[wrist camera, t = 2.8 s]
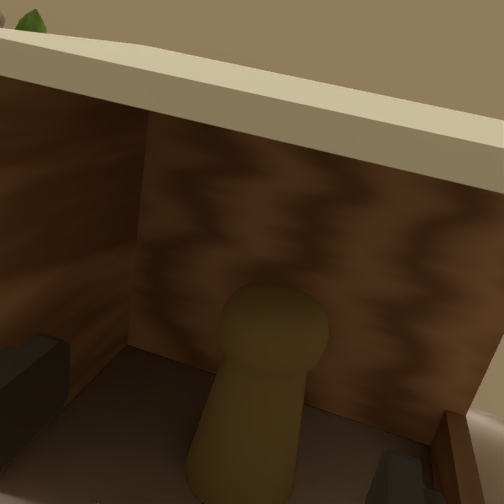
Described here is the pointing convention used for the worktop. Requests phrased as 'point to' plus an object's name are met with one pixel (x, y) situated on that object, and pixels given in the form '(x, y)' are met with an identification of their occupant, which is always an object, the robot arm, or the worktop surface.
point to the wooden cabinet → (253, 226)
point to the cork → (257, 396)
